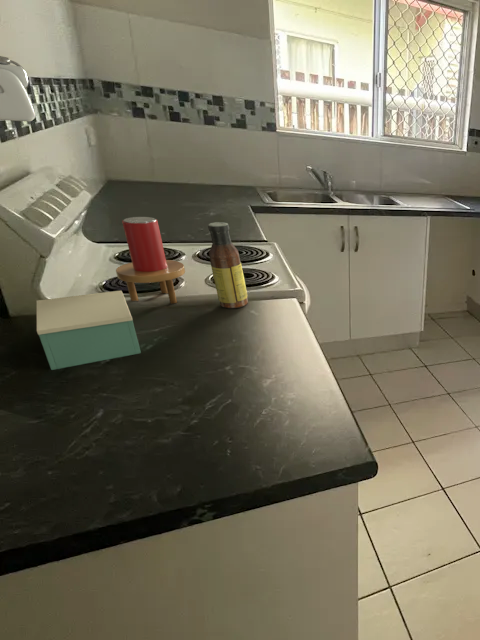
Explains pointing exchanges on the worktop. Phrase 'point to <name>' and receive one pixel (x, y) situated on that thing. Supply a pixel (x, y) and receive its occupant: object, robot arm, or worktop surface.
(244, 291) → the sauce bottle
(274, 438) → the worktop surface
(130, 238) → the can
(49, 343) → the box
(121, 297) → the lid
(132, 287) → the stool
